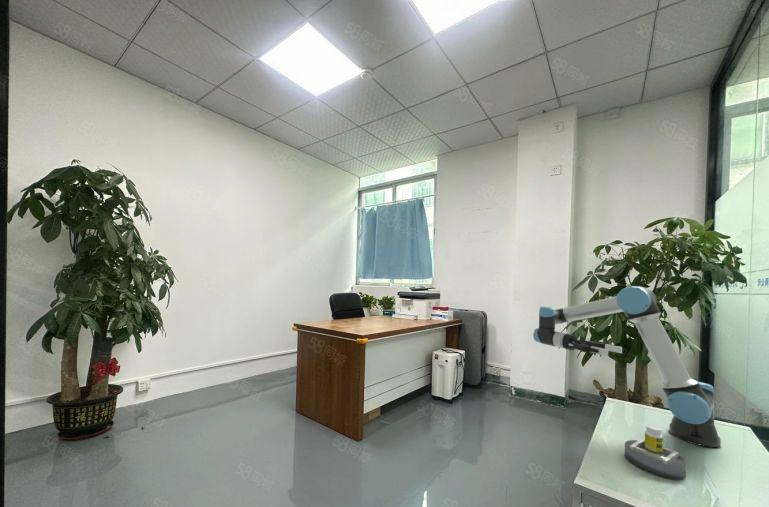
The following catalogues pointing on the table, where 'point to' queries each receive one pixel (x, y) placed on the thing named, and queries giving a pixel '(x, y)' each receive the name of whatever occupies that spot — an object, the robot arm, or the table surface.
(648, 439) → the supplement bottle
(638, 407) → the table surface
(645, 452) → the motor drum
